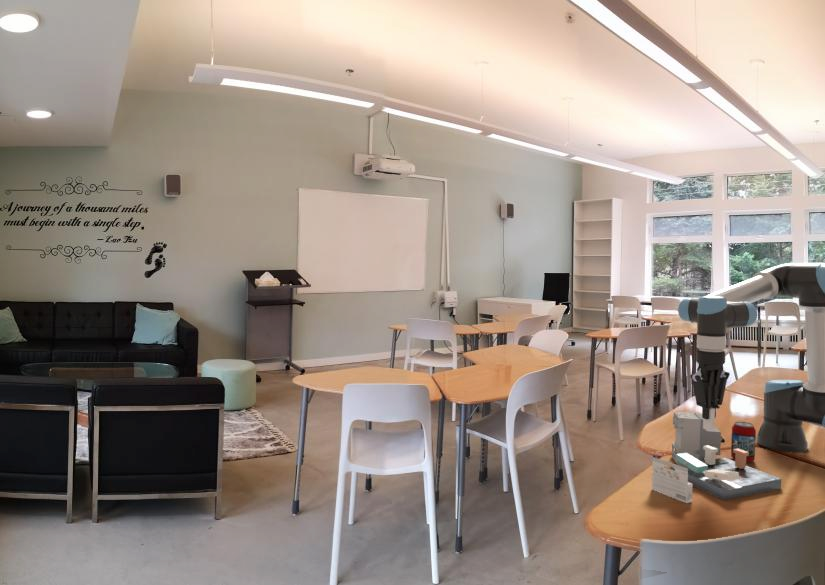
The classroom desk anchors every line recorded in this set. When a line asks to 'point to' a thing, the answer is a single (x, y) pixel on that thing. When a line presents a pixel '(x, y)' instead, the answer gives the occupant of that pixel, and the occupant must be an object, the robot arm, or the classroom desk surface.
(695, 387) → the robot arm
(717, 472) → the rocker ivory
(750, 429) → the beverage can
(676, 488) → the ink cartridge box
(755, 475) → the panel
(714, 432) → the circuit breaker
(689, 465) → the rocker teal
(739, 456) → the slider rust
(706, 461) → the slider ivory
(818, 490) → the classroom desk surface
